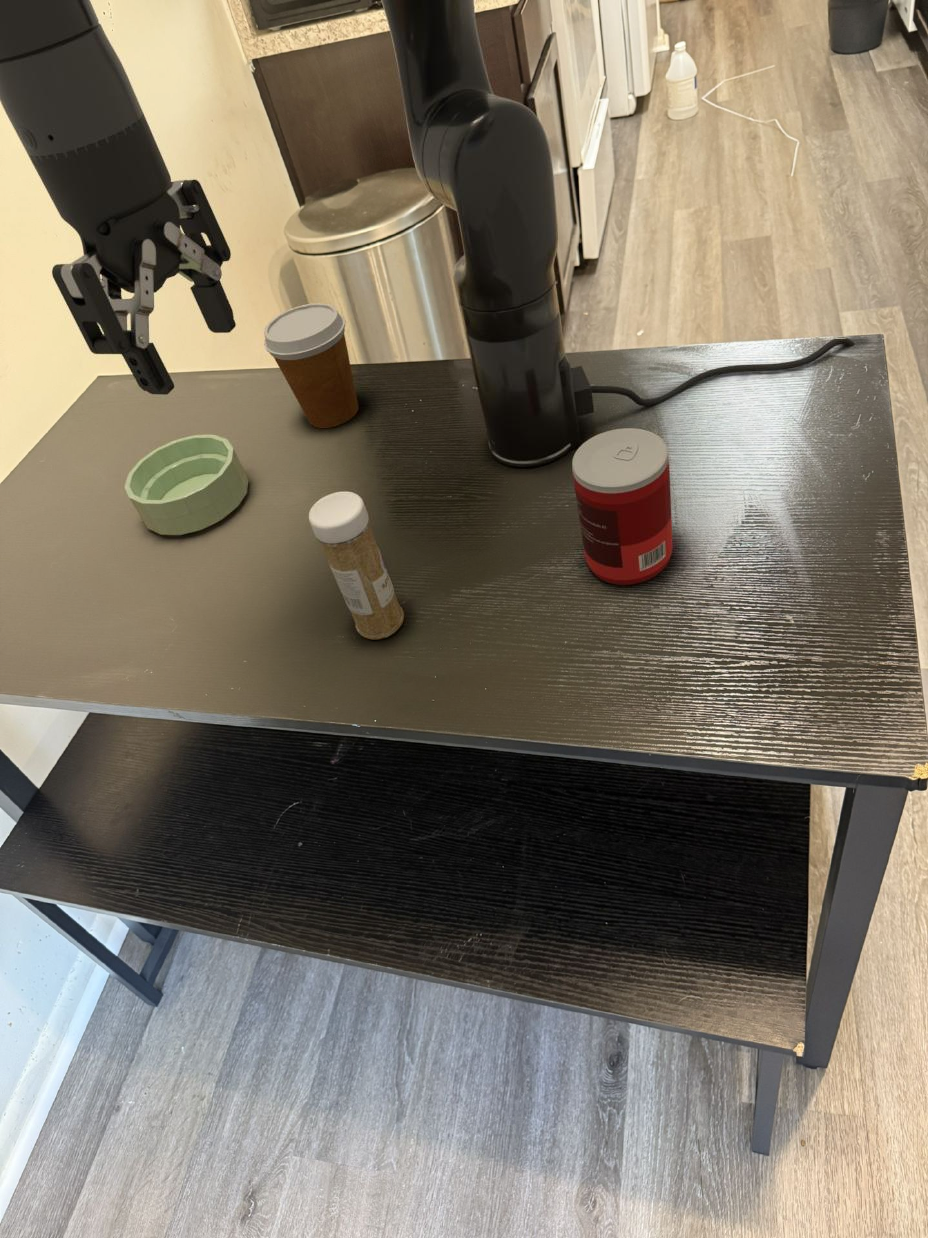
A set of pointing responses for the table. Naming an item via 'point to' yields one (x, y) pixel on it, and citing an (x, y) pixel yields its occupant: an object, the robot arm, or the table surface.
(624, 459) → the canned food
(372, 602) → the sprinkles bottle
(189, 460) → the bowl
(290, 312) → the disposable coffee cup
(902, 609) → the table surface
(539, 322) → the robot arm
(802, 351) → the table surface
